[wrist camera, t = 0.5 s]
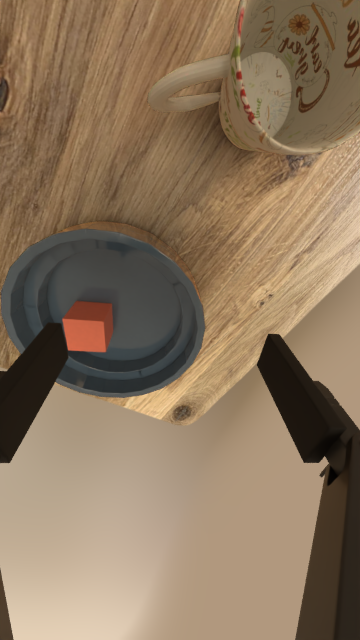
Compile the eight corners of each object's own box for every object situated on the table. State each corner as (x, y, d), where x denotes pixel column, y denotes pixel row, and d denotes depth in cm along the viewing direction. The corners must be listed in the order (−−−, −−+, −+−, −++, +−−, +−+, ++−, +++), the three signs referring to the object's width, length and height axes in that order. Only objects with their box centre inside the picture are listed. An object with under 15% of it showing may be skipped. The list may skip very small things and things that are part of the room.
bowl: (7, 209, 21) (-33, 215, 17) (212, 232, 23) (222, 243, 19) (47, 365, 31) (28, 394, 27) (187, 372, 33) (190, 400, 29)
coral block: (76, 300, 26) (62, 318, 22) (112, 303, 26) (103, 321, 23) (80, 329, 28) (67, 350, 24) (113, 331, 28) (105, 352, 25)
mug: (302, 156, 20) (402, 135, 11) (164, 185, 21) (161, 186, 12) (314, 11, 16) (490, -195, 7) (139, 53, 16) (109, -89, 8)
